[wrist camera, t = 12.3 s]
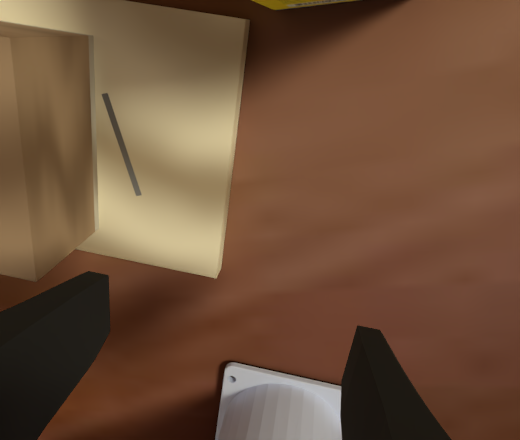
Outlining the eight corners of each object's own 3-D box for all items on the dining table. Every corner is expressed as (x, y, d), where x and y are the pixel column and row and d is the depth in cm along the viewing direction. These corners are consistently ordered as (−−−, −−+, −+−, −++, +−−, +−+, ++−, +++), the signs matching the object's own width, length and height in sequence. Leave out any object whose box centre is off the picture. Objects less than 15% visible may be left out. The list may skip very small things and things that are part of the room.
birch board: (221, 268, 22) (216, 278, 21) (-73, 208, 24) (-89, 215, 23) (250, 19, 17) (245, 19, 16) (-128, -39, 18) (-151, -43, 18)
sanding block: (98, 228, 21) (36, 282, 17) (15, 211, 22) (-68, 259, 17) (93, 35, 17) (9, 37, 13) (-8, 18, 18) (-124, 15, 13)
